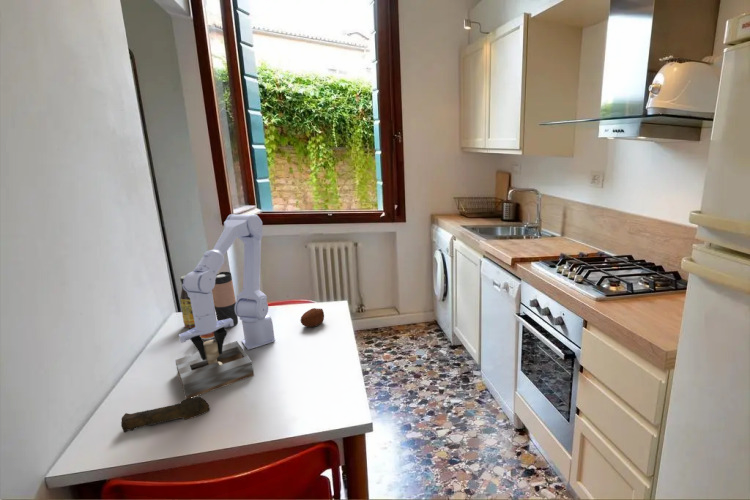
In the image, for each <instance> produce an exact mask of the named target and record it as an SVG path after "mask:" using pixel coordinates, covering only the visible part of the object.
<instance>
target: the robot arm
mask: <svg viewBox="0 0 750 500" xmlns="http://www.w3.org/2000/svg"><path fill="white" fill-rule="evenodd" d="M237 239H240V240H241V242H242V243H243V244H244V245H243V281H242V290H241V292H240V293H239V294H237V295H236V304H235V314H236V315H237V317H238V318H239V320H240V321H241V324H242V330H243V337H244V339H241V342H242V344H243V346H245V348H246V350H249V351H250V350H251V349H256V348H258V347H261V346H265V345H268V344H271V343H274V342H276V339H275V331H274V325H273V320H272V317H271V315H270V314H269V313H268V312H269V304H268V297H267V296H268V295H266V294H265V293H264V292H263V291H261V264H262V263H261V259H262V257H261V256H262V253H261V252H262V239H263V221H262V219H261V218H260V216H259V215H257V214H256V213H252V214H235V213H231V214H229V215H228V216H227V217H226V219H225V221H224V222H223V231H221V234H220V236H219V238H218V240H217V241H216V243H215V244H214V247H213V248H212V249H209V250H207V251H204V253H203V255H202V257H201V259H200V260H199V262H198V263H197V265H196V266H195V268H194V269H193V271H190V272H188V273H186V275H184V276H185V277H184V280H183V284H182V283H181V288H182V287H183V289H184V290H185V291H186V292H187V294H188V297H189V298H190V301H191V306H192V312H193V317H194V322H195V328H190V329H189V330H186V331H184V332H182V333H179V334H178V340H179V342H180V343H183V344H184V343H185V342H187V341H189V340H190V342H191V343H192V344H193V345H194V347H195V348H196V350H197V351H198V353H200V356H201V358H202V360H206V356H205V352H204V345H203V343H204V339H201V337H200V336H201V335H205V334H208V333H211V332H213V333H214V336H215V337H214V340H216V341H217V345H218V351H219V354H222V348H223V345H224V341H225V338H226V336H227V335H228V334H227V332H228V331H227V328H226V327H229V326H230V327H229V328H232V326H233V327H235V326H234V323H233V320H232V319H231V318H229V319H225V320H220V321H217V316H216V311H215V307H214V301H213V294H212V289H213V288H214V286H215V279H216V275H217V274H219V272H220V270H221V268H222V266H223V265H224V263H225V261H226V258H225V255H226V253H227V252H228V250H229V249H231V247H232V245H233V244H234V242H235V241H236V240H237Z"/></svg>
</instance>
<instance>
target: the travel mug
mask: <svg viewBox="0 0 750 500" xmlns="http://www.w3.org/2000/svg"><path fill="white" fill-rule="evenodd" d="M212 296H213V302H214V308H215V314H216V320H217V321H220V320H225V319H229V318H231V319H232V320H233V323H234V326H232V327H235V326H236V325H237V324H239V317H238V316H237V315H236V314H235V304H236V301H237V299H236V296H235V291H234V282H233V277H232V272H230V271H219V272H218V273H217V274H216V279H215V286H214V288H213V289H212ZM232 327H230V326H229V327H226V328H225V329H228V328H232Z"/></svg>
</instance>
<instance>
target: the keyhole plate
mask: <svg viewBox="0 0 750 500" xmlns="http://www.w3.org/2000/svg"><path fill="white" fill-rule="evenodd" d="M218 362H222V365H219V363H218ZM207 364H208V361H206V360H202V358H201V356H200V353H199V352H198V353H194V354H190V355H187V356H183V357H180V358H177V359H175V366H176V370H177V375H178V378H179V380H180V383H181V384H180V385H181V387H182V390H183V392H184V393H185V394H184V397H185V396H186V397H185V399H187V398H191V397H193V398H195V397H194V396H196V397H198V396H200V394H201V395H203V393H204V394H206V393H209V392H213V391H214V390H218V389H220V388H223V387H225V386H226V387H227V386H228V385H231V384H233V383H237V382H239V381H242V380H245V379H249V378H251V377H253V376H254V375H255V374H254V367H253V361H252V360H251V358H250V357H249V356H248V354H247V353H246V351H245V350H244V349H243V346H241V344H240V343H239V342H238V340H235V341H233V342H229V343H226V344H223V348H222V354H219V357H218V358H217V362H216V363H213V364H210V365H207ZM206 365H207V366H206ZM197 395H198V396H197Z"/></svg>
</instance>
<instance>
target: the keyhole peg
mask: <svg viewBox="0 0 750 500" xmlns="http://www.w3.org/2000/svg"><path fill="white" fill-rule="evenodd" d="M203 345H204V352H205V356H206V361H208V364H207V365H210V364H213V363H216V362H217V358H218V357H219V351H218V345H217V341H216V340H215V339H207V340H206V341H203ZM218 363H219V365H222V362H218ZM207 365H206V366H207Z"/></svg>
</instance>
